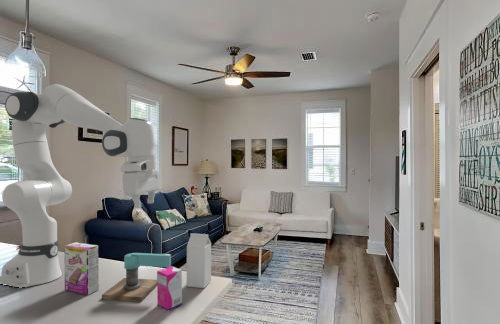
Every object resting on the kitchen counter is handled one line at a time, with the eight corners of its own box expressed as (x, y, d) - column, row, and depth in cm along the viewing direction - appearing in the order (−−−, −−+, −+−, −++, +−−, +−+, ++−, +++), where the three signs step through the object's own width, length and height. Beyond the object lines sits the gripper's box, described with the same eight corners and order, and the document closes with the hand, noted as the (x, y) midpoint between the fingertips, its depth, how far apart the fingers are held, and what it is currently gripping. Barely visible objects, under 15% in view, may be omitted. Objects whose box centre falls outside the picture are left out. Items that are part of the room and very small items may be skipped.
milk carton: (204, 288, 108) (204, 237, 108) (186, 286, 110) (186, 235, 110) (211, 280, 115) (211, 232, 115) (193, 279, 117) (194, 231, 117)
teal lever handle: (121, 268, 104) (121, 255, 104) (129, 263, 109) (129, 250, 109) (167, 271, 102) (167, 257, 102) (172, 265, 107) (172, 252, 107)
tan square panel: (101, 299, 100) (101, 273, 100) (123, 281, 114) (124, 259, 114) (141, 301, 98) (141, 275, 98) (159, 283, 112) (159, 260, 112)
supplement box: (171, 299, 100) (171, 265, 100) (182, 304, 97) (182, 269, 96) (156, 305, 96) (156, 270, 96) (167, 311, 92) (167, 275, 92)
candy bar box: (63, 291, 105) (63, 245, 105) (75, 285, 110) (75, 241, 110) (87, 296, 102) (87, 248, 102) (99, 290, 107) (99, 244, 106)
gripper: (147, 164, 112) (149, 201, 112) (117, 167, 92) (120, 211, 92) (163, 163, 111) (165, 200, 112) (137, 166, 91) (139, 210, 91)
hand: (144, 205), depth 102 cm, fingers open, 8 cm apart
